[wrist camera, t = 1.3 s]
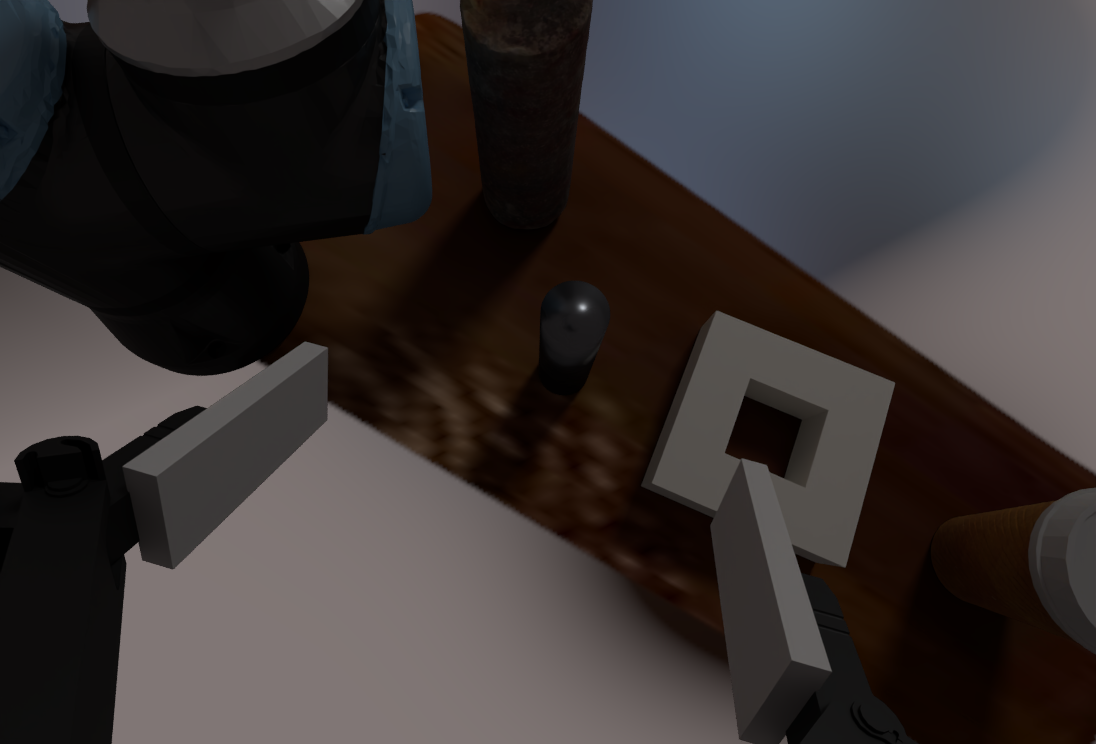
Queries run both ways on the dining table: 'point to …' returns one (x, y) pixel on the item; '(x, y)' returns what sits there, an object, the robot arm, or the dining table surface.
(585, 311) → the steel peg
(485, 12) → the candle
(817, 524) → the hole block
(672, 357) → the dining table surface
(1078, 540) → the disposable coffee cup
